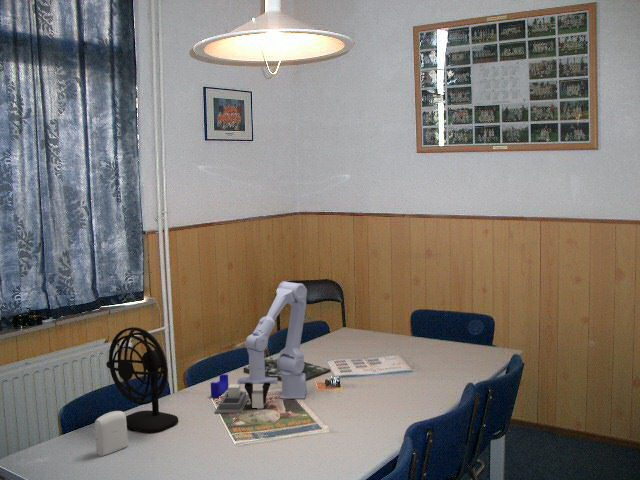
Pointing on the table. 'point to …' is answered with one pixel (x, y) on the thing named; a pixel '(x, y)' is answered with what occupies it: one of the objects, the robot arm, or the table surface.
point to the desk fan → (151, 363)
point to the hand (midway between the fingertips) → (258, 402)
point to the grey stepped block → (233, 400)
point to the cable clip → (219, 386)
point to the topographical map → (309, 370)
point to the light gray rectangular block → (257, 399)
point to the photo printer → (111, 432)
